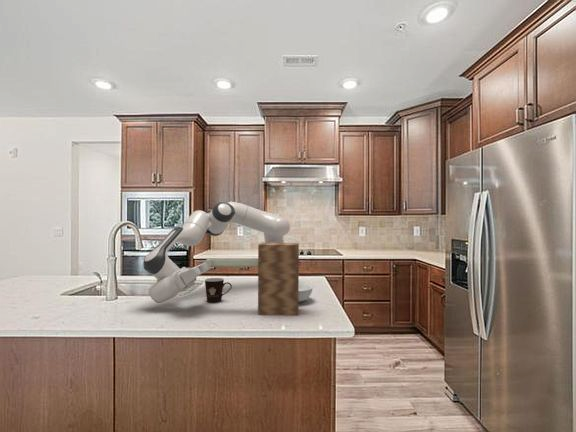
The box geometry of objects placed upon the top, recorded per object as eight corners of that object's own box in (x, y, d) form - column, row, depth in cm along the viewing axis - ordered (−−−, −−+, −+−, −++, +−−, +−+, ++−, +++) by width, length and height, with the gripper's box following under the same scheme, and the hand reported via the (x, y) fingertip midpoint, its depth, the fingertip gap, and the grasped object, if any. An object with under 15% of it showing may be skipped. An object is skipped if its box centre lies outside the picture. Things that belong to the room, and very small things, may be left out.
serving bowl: (309, 308, 152) (309, 292, 152) (262, 305, 156) (262, 289, 156) (315, 297, 173) (315, 283, 173) (273, 295, 177) (273, 281, 177)
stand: (258, 314, 142) (258, 244, 141) (261, 308, 152) (261, 242, 151) (298, 315, 141) (298, 245, 141) (298, 308, 151) (298, 243, 151)
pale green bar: (205, 267, 145) (205, 260, 145) (208, 265, 149) (208, 258, 149) (259, 267, 144) (259, 260, 144) (260, 265, 148) (260, 259, 148)
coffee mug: (200, 302, 161) (200, 280, 161) (212, 298, 169) (213, 277, 169) (220, 305, 156) (221, 282, 156) (232, 301, 163) (232, 279, 163)
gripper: (196, 280, 158) (223, 264, 157) (180, 289, 137) (211, 272, 137) (189, 267, 158) (216, 252, 157) (172, 275, 138) (203, 257, 137)
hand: (213, 261), depth 147 cm, fingers closed on pale green bar, 4 cm apart
